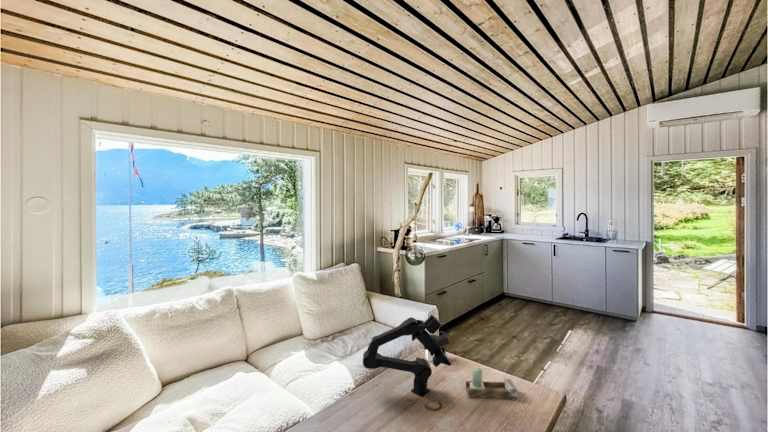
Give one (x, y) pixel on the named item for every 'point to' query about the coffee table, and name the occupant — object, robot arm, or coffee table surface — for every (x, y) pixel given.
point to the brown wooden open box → (494, 390)
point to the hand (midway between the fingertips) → (450, 364)
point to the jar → (427, 353)
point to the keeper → (477, 380)
